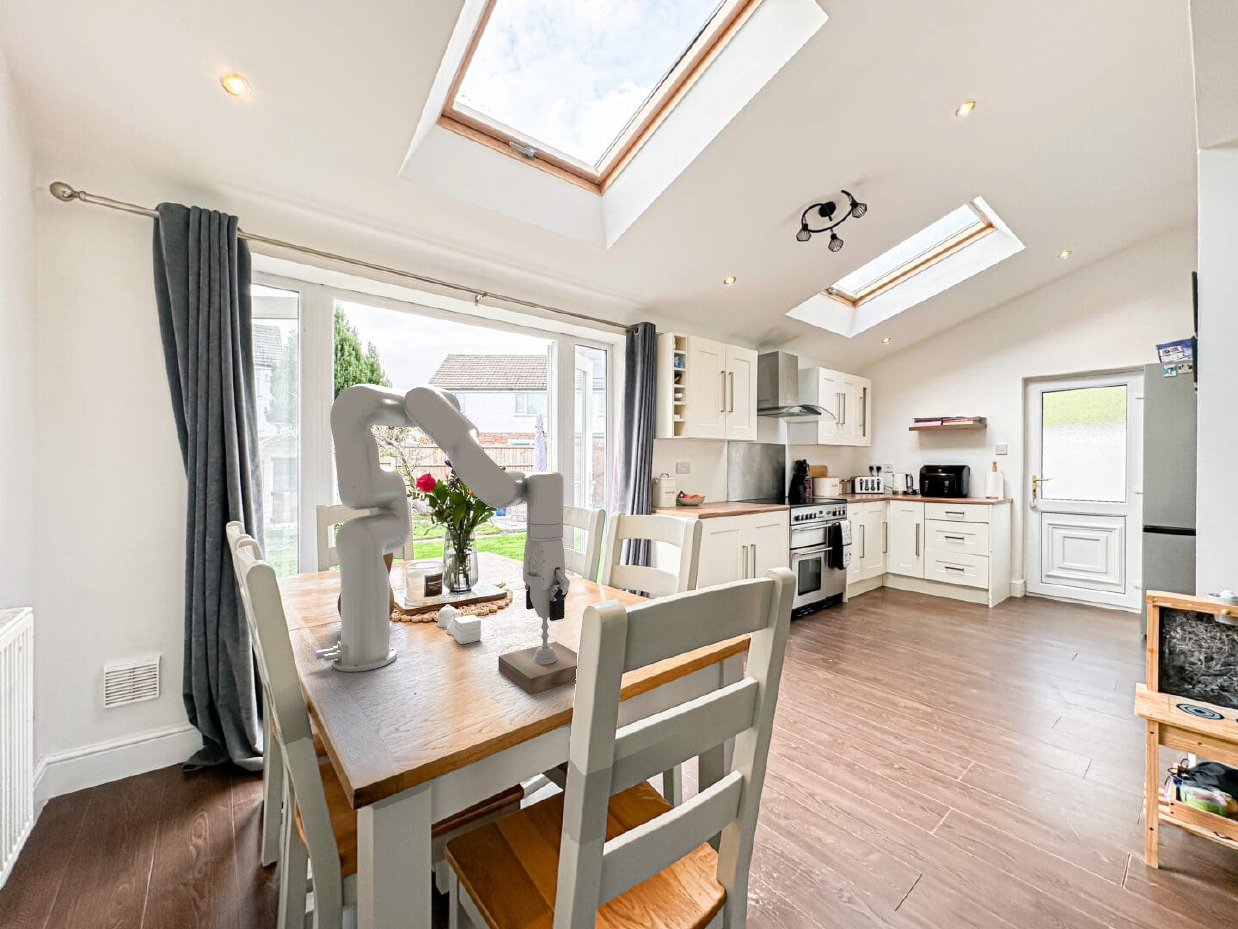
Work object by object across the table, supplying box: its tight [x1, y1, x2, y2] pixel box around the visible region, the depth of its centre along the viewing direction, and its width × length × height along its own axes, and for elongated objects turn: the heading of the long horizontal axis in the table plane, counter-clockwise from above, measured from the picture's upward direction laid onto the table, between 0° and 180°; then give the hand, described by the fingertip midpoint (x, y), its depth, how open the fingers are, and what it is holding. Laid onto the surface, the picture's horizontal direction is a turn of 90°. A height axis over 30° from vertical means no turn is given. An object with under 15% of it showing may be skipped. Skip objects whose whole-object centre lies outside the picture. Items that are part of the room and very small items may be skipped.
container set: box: [437, 604, 482, 645], centre depth 133 cm, size 20×5×6 cm, turn 36°
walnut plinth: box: [497, 641, 577, 695], centre depth 108 cm, size 14×14×3 cm
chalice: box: [528, 572, 558, 664], centre depth 107 cm, size 7×7×18 cm
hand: (544, 613), depth 108 cm, fingers open, 9 cm apart
